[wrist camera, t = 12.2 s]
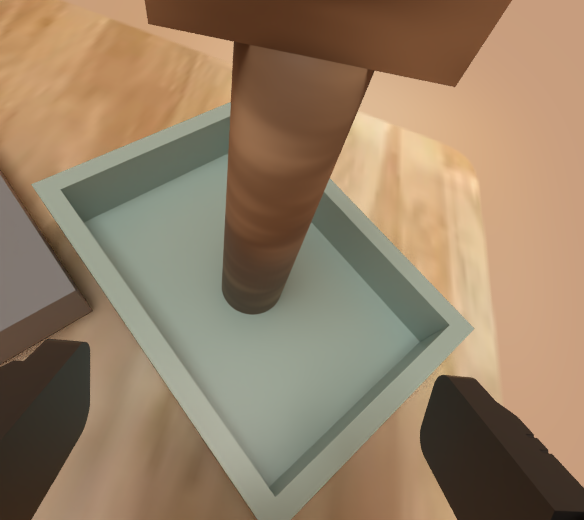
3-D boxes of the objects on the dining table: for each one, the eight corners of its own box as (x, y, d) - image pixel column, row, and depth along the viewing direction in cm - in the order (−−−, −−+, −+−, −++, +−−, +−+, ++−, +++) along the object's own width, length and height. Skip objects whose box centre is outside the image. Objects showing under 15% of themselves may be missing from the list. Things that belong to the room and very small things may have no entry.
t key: (187, 307, 22) (115, -110, 6) (197, 251, 24) (165, -193, 7) (307, 321, 23) (536, -6, 7) (309, 266, 25) (496, -101, 8)
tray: (58, 225, 23) (31, 184, 20) (244, 138, 29) (249, 94, 26) (260, 524, 18) (271, 539, 15) (436, 347, 24) (474, 328, 21)
